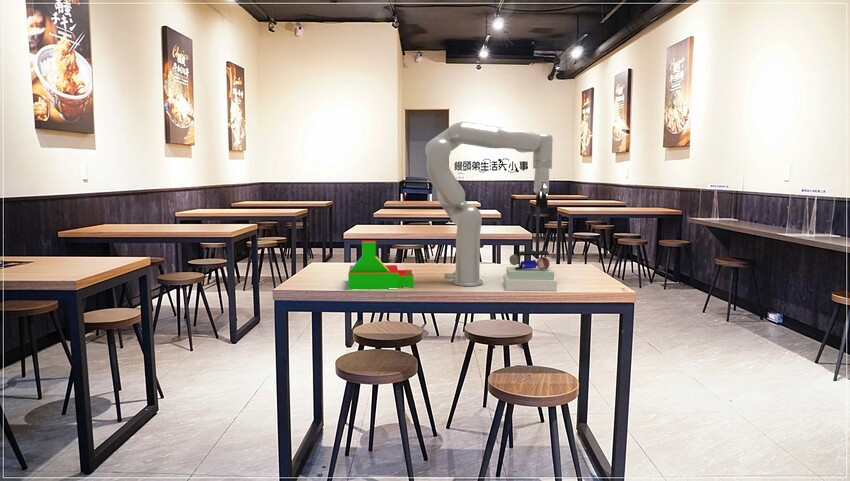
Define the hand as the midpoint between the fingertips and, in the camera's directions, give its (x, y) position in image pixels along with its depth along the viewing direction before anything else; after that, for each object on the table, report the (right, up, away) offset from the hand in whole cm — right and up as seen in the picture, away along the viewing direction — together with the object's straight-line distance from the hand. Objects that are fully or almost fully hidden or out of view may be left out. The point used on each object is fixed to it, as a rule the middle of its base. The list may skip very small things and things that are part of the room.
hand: (541, 207), depth 237 cm
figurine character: (-7, -25, -11) cm, 28 cm away
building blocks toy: (-65, -32, -5) cm, 72 cm away
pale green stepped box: (-7, -32, -10) cm, 34 cm away
